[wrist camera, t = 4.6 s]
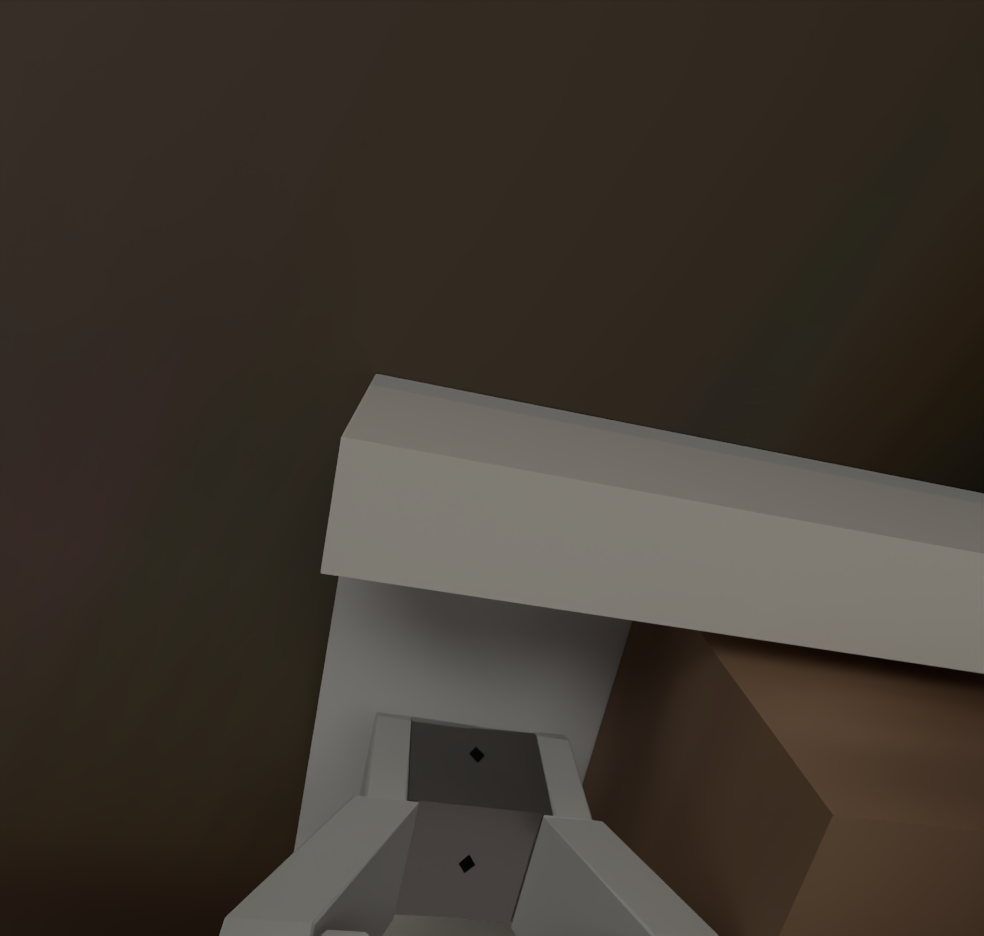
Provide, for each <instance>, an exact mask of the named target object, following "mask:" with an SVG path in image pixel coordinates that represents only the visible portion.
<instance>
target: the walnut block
mask: <svg viewBox="0 0 984 936" xmlns="http://www.w3.org/2000/svg"><path fill="white" fill-rule="evenodd" d="M582 786H583V789H584V792H585V796H586V799H587V803H588V806H589V809H590V813H591V816H592V819H593V820H595V821H602V822H604V823H605V824H606V825H607V826H608V827H609V828H610V829H611V830H612V831H613V832H614V833H615V834H616V835H617V836H618V837H619V838H620V839H621V840H622V841H623V842H624V843H625V844H626V845H627V846H628V847H629V848H630V849H631V850H632V851H633V852H634V853H635V854H636V855H637V856H638V857H639V858H640V859H641V860H642V861H643V862H644V863H645V864H646V865H647V866H648V867H649V868H650V869H651V870H652V871H653V872H655V873H656V874H657V875H658V876H659V877H660V878H661V879H662V880H663V881H664V882H665V883H666V884H667V885H668V886H669V887H670V888H671V889H672V890H673V891H674V892H675V893H676V894H677V895H678V896H679V897H680V898H681V899H682V900H683V901H684V902H685V903H686V904H687V905H688V906H689V907H690V908H691V909H692V910H693V911H694V912H695V913H696V914H697V915H698V916H699V917H700V918H701V919H702V920H703V921H704V922H705V923H706V924H707V925H708V926H710V927H711V928H712V929H713V930H714V931H715V932H716V933H717V934H718V935H719V936H984V674H983V673H976V672H970V671H963V670H956V669H950V668H943V667H937V666H930V665H923V664H917V663H910V662H903V661H897V660H890V659H884V658H877V657H870V656H864V655H857V654H851V653H844V652H837V651H831V650H824V649H818V648H811V647H804V646H798V645H791V644H785V643H778V642H771V641H765V640H758V639H752V638H745V637H738V636H732V635H725V634H719V633H712V632H705V631H699V630H692V629H685V628H679V627H672V626H666V625H659V624H652V623H646V622H639V621H633V622H632V625H631V628H630V632H629V635H628V638H627V641H626V645H625V648H624V651H623V654H622V658H621V661H620V664H619V667H618V671H617V674H616V677H615V680H614V684H613V687H612V690H611V693H610V697H609V700H608V703H607V706H606V710H605V713H604V716H603V719H602V723H601V726H600V729H599V732H598V736H597V739H596V742H595V745H594V749H593V752H592V755H591V758H590V762H589V765H588V768H587V771H586V775H585V778H584V781H583V784H582Z"/></svg>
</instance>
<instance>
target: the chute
mask: <svg viewBox="0 0 984 936" xmlns="http://www.w3.org/2000/svg"><path fill="white" fill-rule="evenodd" d="M321 573H322V574H329V575H335V576H339V579H338V585H337V591H336V597H335V603H334V609H333V615H332V622H331V628H330V634H329V640H328V646H327V652H326V658H325V665H324V671H323V677H322V683H321V689H320V695H319V701H318V708H317V714H316V720H315V726H314V732H313V738H312V745H311V751H310V757H309V763H308V769H307V775H306V781H305V788H304V794H303V800H302V806H301V812H300V818H299V824H298V831H297V837H296V843H295V849H294V852H295V851H296V850H297V849H298V848H299V847H300V846H301V845H302V844H303V843H304V842H305V841H306V840H308V839H309V838H310V837H311V836H312V835H313V834H314V833H315V832H316V831H317V830H318V829H319V828H320V827H321V826H322V825H323V824H324V823H326V822H327V821H328V820H329V819H330V818H331V817H332V816H333V815H334V814H335V813H336V812H337V811H338V810H339V809H340V808H341V807H342V806H343V805H345V804H346V803H347V802H348V801H349V800H350V799H351V798H352V797H353V796H360V791H361V785H362V780H363V775H364V770H365V764H366V759H367V754H368V749H369V744H370V739H371V734H372V729H373V724H374V719H375V716H376V712H381V713H388V714H396V715H403V716H409V717H410V718H411V716H412V717H419V718H426V719H433V720H440V721H446V722H453V723H460V724H467V725H474V726H478V727H486V728H495V729H503V730H512V731H520V732H529V733H532V732H540V733H551V734H562V735H565V736H566V737H567V738H568V739H569V742H570V745H571V748H572V752H573V755H574V759H575V762H576V765H577V769H578V772H579V776H580V779H581V782H582V784H583V781H584V778H585V775H586V771H587V768H588V765H589V762H590V758H591V755H592V752H593V749H594V745H595V742H596V739H597V736H598V732H599V729H600V726H601V723H602V719H603V716H604V713H605V710H606V706H607V703H608V700H609V697H610V693H611V690H612V687H613V684H614V680H615V677H616V674H617V671H618V667H619V664H620V661H621V658H622V654H623V651H624V648H625V645H626V641H627V638H628V635H629V632H630V628H631V625H632V622H633V621H639V622H646V623H652V624H659V625H666V626H672V627H679V628H685V629H692V630H699V631H705V632H712V633H719V634H725V635H732V636H738V637H745V638H752V639H758V640H765V641H771V642H778V643H785V644H791V645H798V646H804V647H811V648H818V649H824V650H831V651H837V652H844V653H851V654H857V655H864V656H870V657H877V658H884V659H890V660H897V661H903V662H910V663H917V664H923V665H930V666H937V667H943V668H950V669H956V670H963V671H970V672H976V673H983V674H984V494H983V493H978V492H973V491H968V490H963V489H958V488H953V487H948V486H943V485H937V484H932V483H927V482H922V481H917V480H912V479H907V478H902V477H897V476H892V475H887V474H882V473H877V472H872V471H867V470H861V469H856V468H851V467H846V466H841V465H836V464H831V463H826V462H821V461H816V460H811V459H806V458H801V457H796V456H791V455H785V454H780V453H775V452H770V451H765V450H760V449H755V448H750V447H745V446H740V445H735V444H730V443H725V442H720V441H714V440H709V439H704V438H699V437H694V436H689V435H684V434H679V433H674V432H669V431H664V430H659V429H654V428H649V427H644V426H638V425H633V424H628V423H623V422H618V421H613V420H608V419H603V418H598V417H593V416H588V415H583V414H578V413H573V412H568V411H562V410H557V409H552V408H547V407H542V406H537V405H532V404H527V403H522V402H517V401H512V400H507V399H502V398H497V397H492V396H486V395H481V394H476V393H471V392H466V391H461V390H456V389H451V388H446V387H441V386H436V385H431V384H426V383H421V382H416V381H410V380H405V379H400V378H395V377H390V376H385V375H380V374H376V375H375V376H374V378H373V380H372V382H371V384H370V386H369V387H368V389H367V391H366V393H365V395H364V397H363V398H362V400H361V402H360V404H359V406H358V407H357V409H356V411H355V413H354V415H353V417H352V418H351V420H350V422H349V424H348V426H347V427H346V429H345V431H344V433H343V435H342V437H341V442H340V449H339V455H338V462H337V468H336V475H335V481H334V488H333V494H332V501H331V508H330V514H329V521H328V527H327V534H326V540H325V547H324V553H323V560H322V566H321ZM511 925H512V924H509V923H500V922H491V921H482V920H473V919H464V918H455V917H437V916H416V915H394V919H393V920H392V922H391V923H390V925H389V926H388V928H387V929H386V931H385V932H384V934H383V935H382V936H516V935H515V933H514V932H513V930H512V928H511Z"/></svg>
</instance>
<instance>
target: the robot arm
mask: <svg viewBox="0 0 984 936" xmlns="http://www.w3.org/2000/svg"><path fill="white" fill-rule="evenodd" d="M394 915H416V916H437V917H455V918H464V919H473V920H482V921H491V922H500V923H509V924H512V925H511V928H512V930H513V932H514V933H515V935H516V936H719V935H718V934H717V933H716V932H715V931H714V930H713V929H712V928H711V927H710V926H708V925H707V924H706V923H705V922H704V921H703V920H702V919H701V918H700V917H699V916H698V915H697V914H696V913H695V912H694V911H693V910H692V909H691V908H690V907H689V906H688V905H687V904H686V903H685V902H684V901H683V900H682V899H681V898H680V897H679V896H678V895H677V894H676V893H675V892H674V891H673V890H672V889H671V888H670V887H669V886H668V885H667V884H666V883H665V882H664V881H663V880H662V879H661V878H660V877H659V876H658V875H657V874H656V873H655V872H653V871H652V870H651V869H650V868H649V867H648V866H647V865H646V864H645V863H644V862H643V861H642V860H641V859H640V858H639V857H638V856H637V855H636V854H635V853H634V852H633V851H632V850H631V849H630V848H629V847H628V846H627V845H626V844H625V843H624V842H623V841H622V840H621V839H620V838H619V837H618V836H617V835H616V834H615V833H614V832H613V831H612V830H611V829H610V828H609V827H608V826H607V825H606V824H605V823H604V822H602V821H595V820H593V819H592V816H591V813H590V809H589V806H588V803H587V799H586V796H585V792H584V789H583V786H582V782H581V779H580V776H579V772H578V769H577V765H576V762H575V759H574V755H573V752H572V748H571V745H570V742H569V739H568V738H567V737H566V736H565V735H562V734H551V733H540V732H532V733H529V732H520V731H512V730H503V729H495V728H486V727H478V726H474V725H467V724H460V723H453V722H446V721H440V720H433V719H426V718H419V717H412V716H411V718H410V717H409V716H403V715H396V714H388V713H381V712H376V716H375V719H374V724H373V729H372V734H371V739H370V744H369V749H368V754H367V759H366V764H365V770H364V775H363V780H362V785H361V791H360V796H353V797H352V798H351V799H350V800H349V801H348V802H347V803H346V804H345V805H343V806H342V807H341V808H340V809H339V810H338V811H337V812H336V813H335V814H334V815H333V816H332V817H331V818H330V819H329V820H328V821H327V822H326V823H324V824H323V825H322V826H321V827H320V828H319V829H318V830H317V831H316V832H315V833H314V834H313V835H312V836H311V837H310V838H309V839H308V840H306V841H305V842H304V843H303V844H302V845H301V846H300V847H299V848H298V849H297V850H296V851H295V852H294V853H293V854H292V855H291V856H290V857H289V858H287V859H286V860H285V861H284V862H283V863H282V864H281V865H280V866H279V867H278V868H277V869H276V870H275V871H274V872H273V873H272V874H271V875H269V876H268V877H267V878H266V879H265V880H264V881H263V882H262V883H261V884H260V885H259V886H258V887H257V888H256V889H255V890H254V891H253V892H251V893H250V894H249V895H248V896H247V897H246V898H245V899H244V900H243V901H242V902H241V903H240V904H239V905H238V906H237V907H236V908H235V909H234V910H232V911H231V912H230V913H229V914H228V915H227V916H226V917H225V919H224V922H223V925H222V928H221V931H220V934H219V936H382V935H383V934H384V932H385V931H386V929H387V928H388V926H389V925H390V923H391V922H392V920H393V919H394Z"/></svg>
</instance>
